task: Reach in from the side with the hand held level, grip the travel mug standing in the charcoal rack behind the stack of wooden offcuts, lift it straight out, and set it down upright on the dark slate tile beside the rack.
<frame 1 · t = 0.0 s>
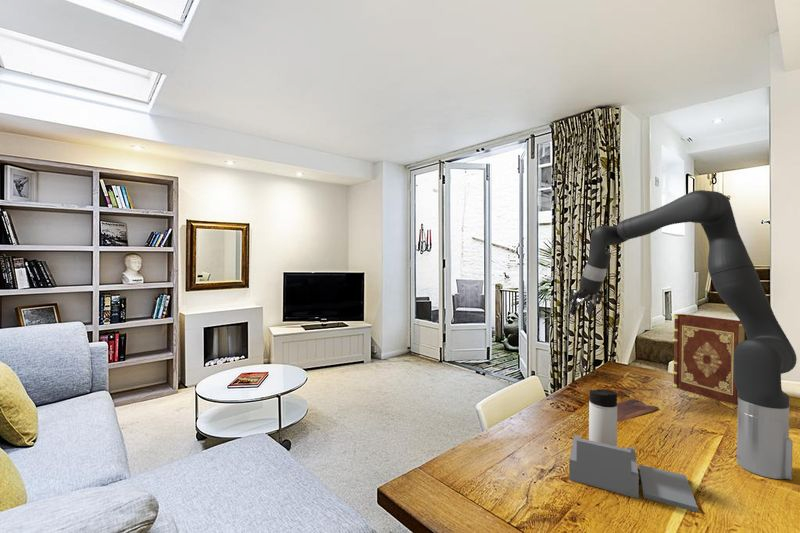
hand: (580, 313, 144), 31 cm above the table, tool tilted 20°, fingers open, 8 cm apart
decorative book: (706, 393, 143), on the table
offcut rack: (602, 473, 90), on the table
slate tile: (665, 488, 84), on the table
travel mug: (602, 468, 93), on the table
wooden tablet: (623, 413, 127), on the table
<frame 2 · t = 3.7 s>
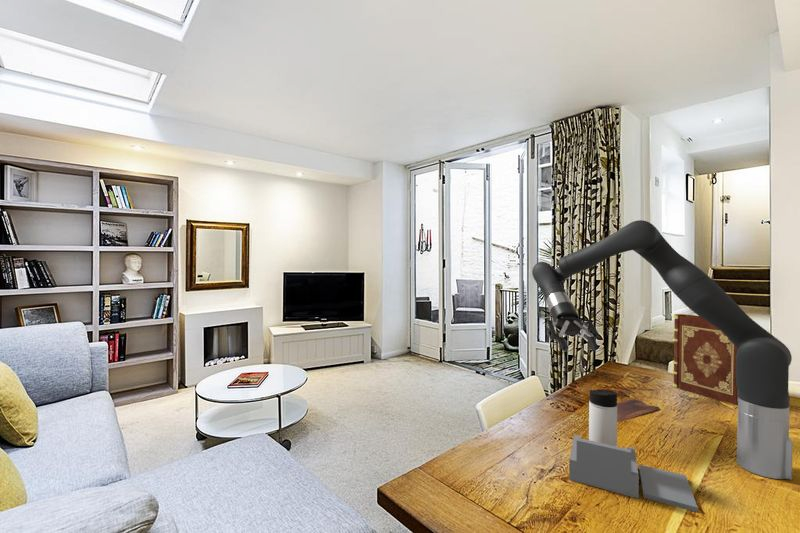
hand: (580, 349, 107), 27 cm above the table, tool tilted 50°, fingers open, 8 cm apart
nothing on the table moved.
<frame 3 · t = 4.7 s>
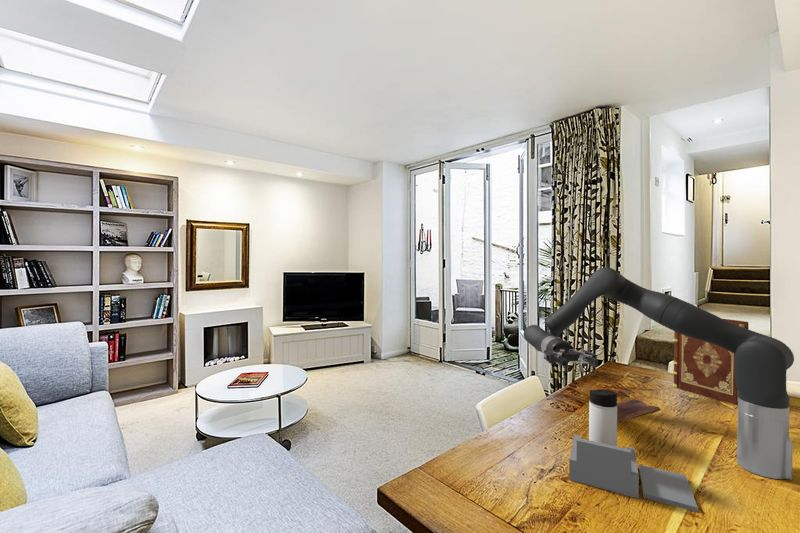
hand: (581, 363, 103), 23 cm above the table, tool horizontal, fingers open, 8 cm apart
nothing on the table moved.
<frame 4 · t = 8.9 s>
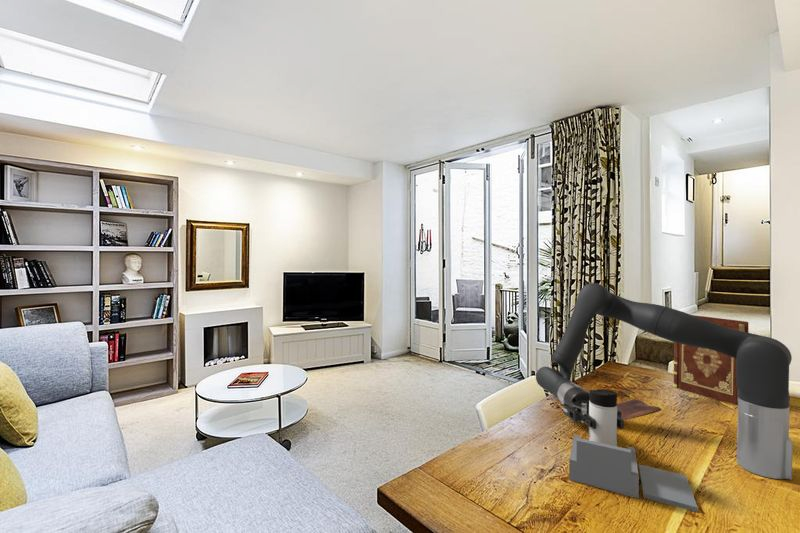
hand: (608, 425, 90), 12 cm above the table, tool horizontal, fingers closed on travel mug, 6 cm apart
travel mug: (602, 467, 93), on the table, touching gripper
everything else where it was.
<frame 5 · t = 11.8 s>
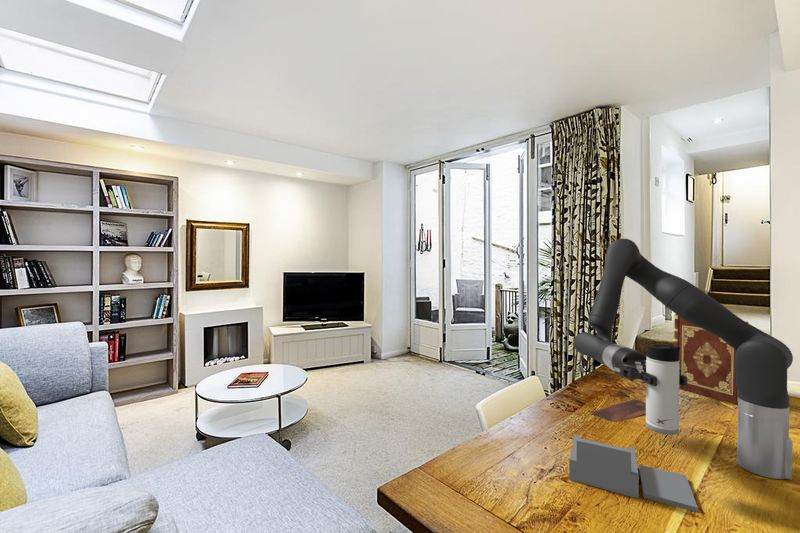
hand: (670, 381, 82), 26 cm above the table, tool horizontal, fingers closed on travel mug, 6 cm apart
travel mug: (662, 430, 84), point 13 cm above the table, touching gripper
everything else where it was.
when the fingers open (14 cm above the table, at t = 14.7 s): travel mug drops 1 cm, resting on slate tile.
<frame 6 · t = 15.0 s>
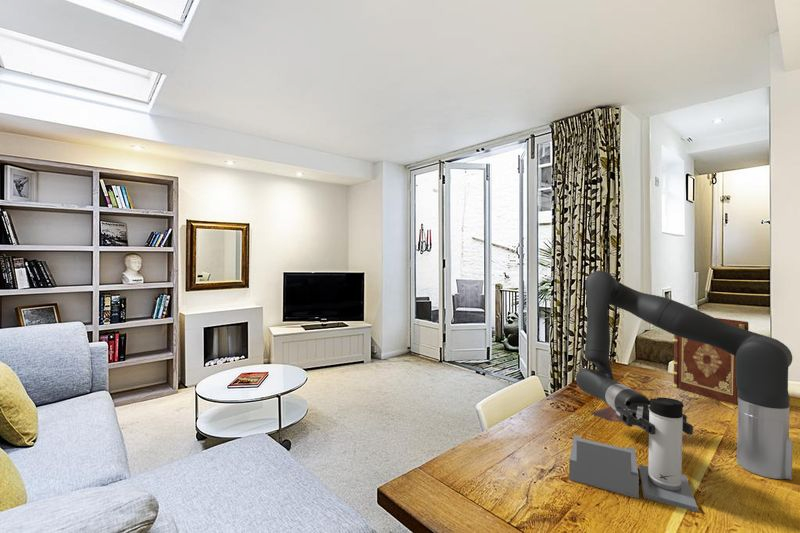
hand: (672, 430, 82), 14 cm above the table, tool horizontal, fingers open, 8 cm apart
travel mug: (664, 484, 84), point 1 cm above the table, touching slate tile
everything else where it was.
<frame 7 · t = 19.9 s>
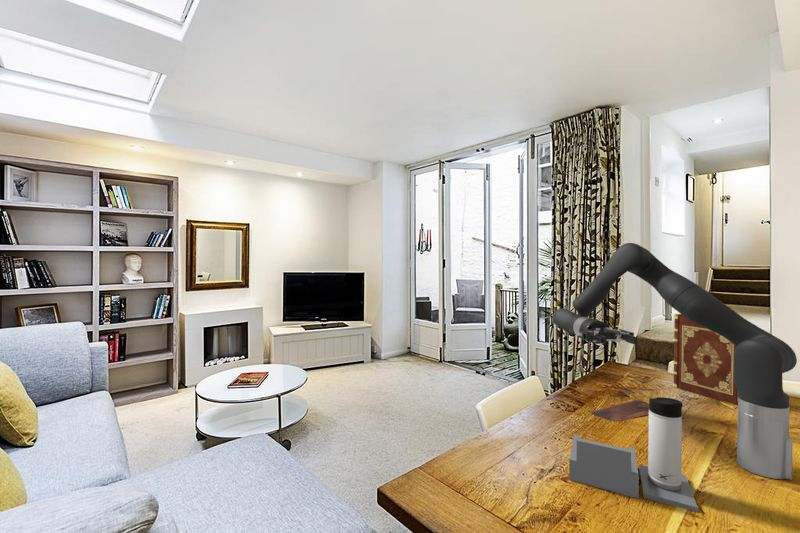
hand: (620, 340, 103), 30 cm above the table, tool horizontal, fingers open, 8 cm apart
nothing on the table moved.
at the end: travel mug 0.2 cm off-centre on the slate tile, point 0.8 cm above the slate tile's base; travel mug tilted 0°; the gripper is holding nothing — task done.
